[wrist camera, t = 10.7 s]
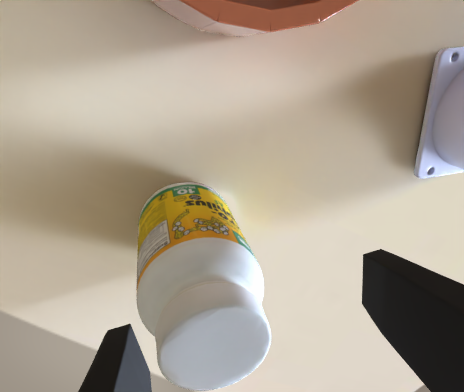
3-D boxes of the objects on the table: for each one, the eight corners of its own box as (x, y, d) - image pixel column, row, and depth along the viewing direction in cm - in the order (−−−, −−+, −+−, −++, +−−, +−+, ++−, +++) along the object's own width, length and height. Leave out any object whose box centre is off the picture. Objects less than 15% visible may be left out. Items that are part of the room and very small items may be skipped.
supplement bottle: (120, 233, 19) (99, 382, 10) (174, 160, 18) (199, 260, 9) (194, 270, 21) (227, 418, 13) (245, 208, 20) (318, 323, 12)
